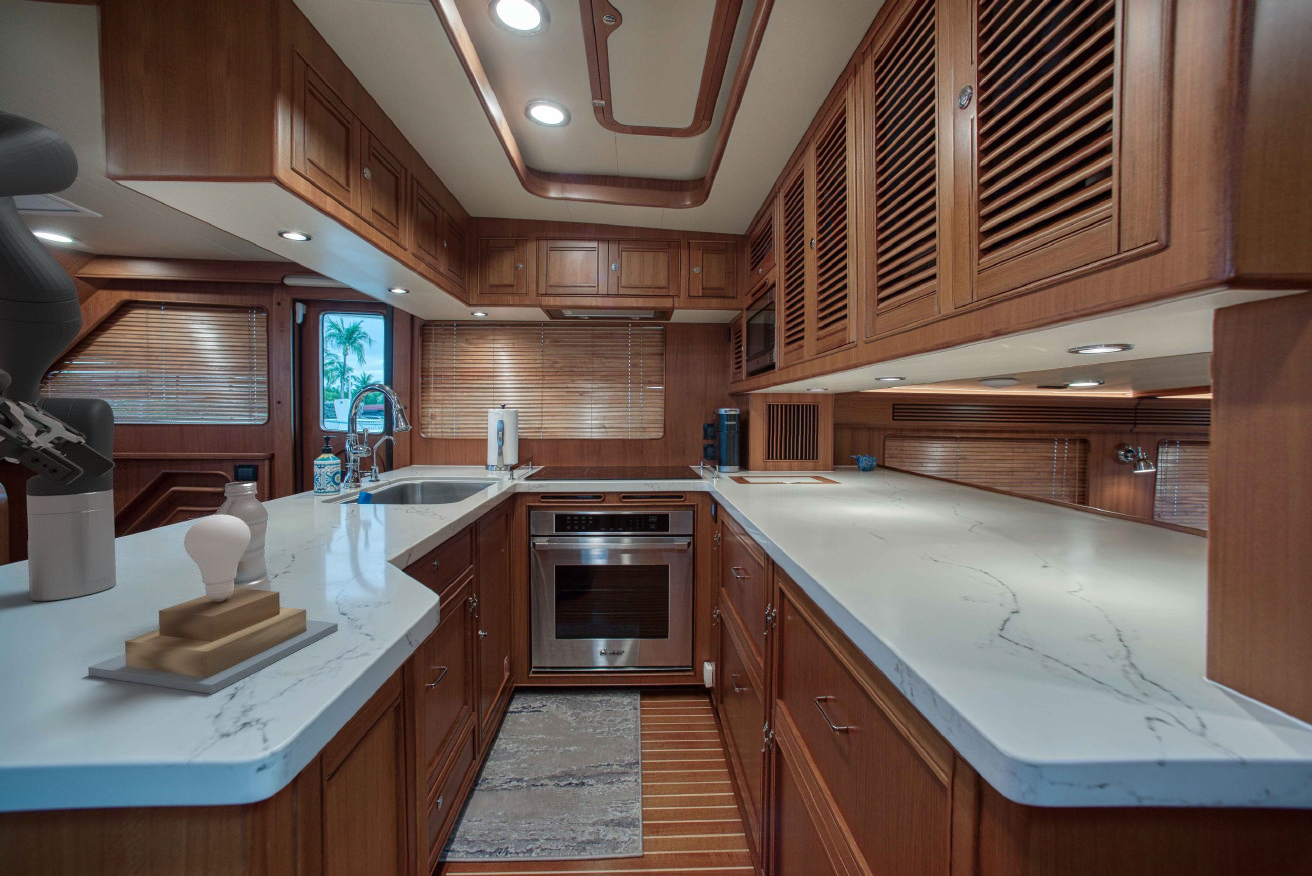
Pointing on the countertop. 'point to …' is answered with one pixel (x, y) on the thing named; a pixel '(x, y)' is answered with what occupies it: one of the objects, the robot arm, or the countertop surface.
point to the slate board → (120, 671)
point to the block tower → (215, 633)
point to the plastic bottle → (255, 517)
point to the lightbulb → (217, 552)
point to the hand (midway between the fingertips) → (92, 475)
